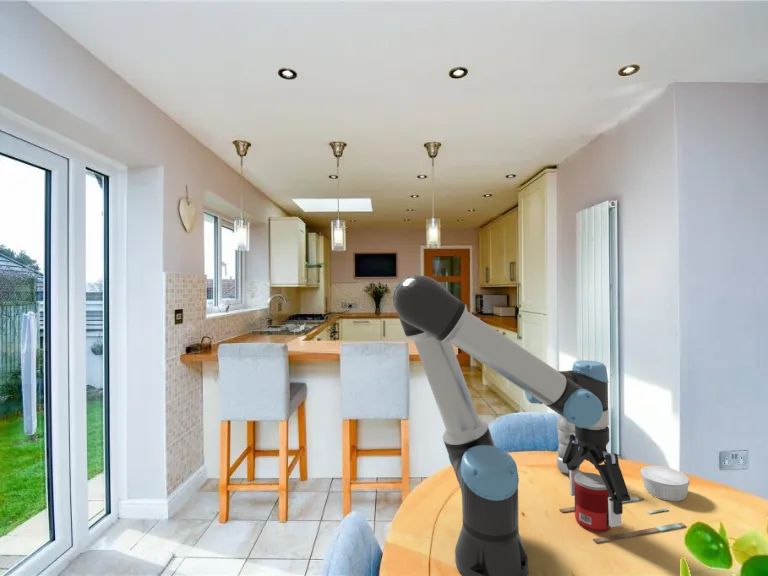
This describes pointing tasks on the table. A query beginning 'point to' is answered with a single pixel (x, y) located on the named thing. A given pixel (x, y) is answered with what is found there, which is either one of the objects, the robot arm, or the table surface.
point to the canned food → (591, 502)
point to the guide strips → (634, 533)
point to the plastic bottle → (563, 441)
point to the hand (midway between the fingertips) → (593, 509)
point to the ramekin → (665, 482)
